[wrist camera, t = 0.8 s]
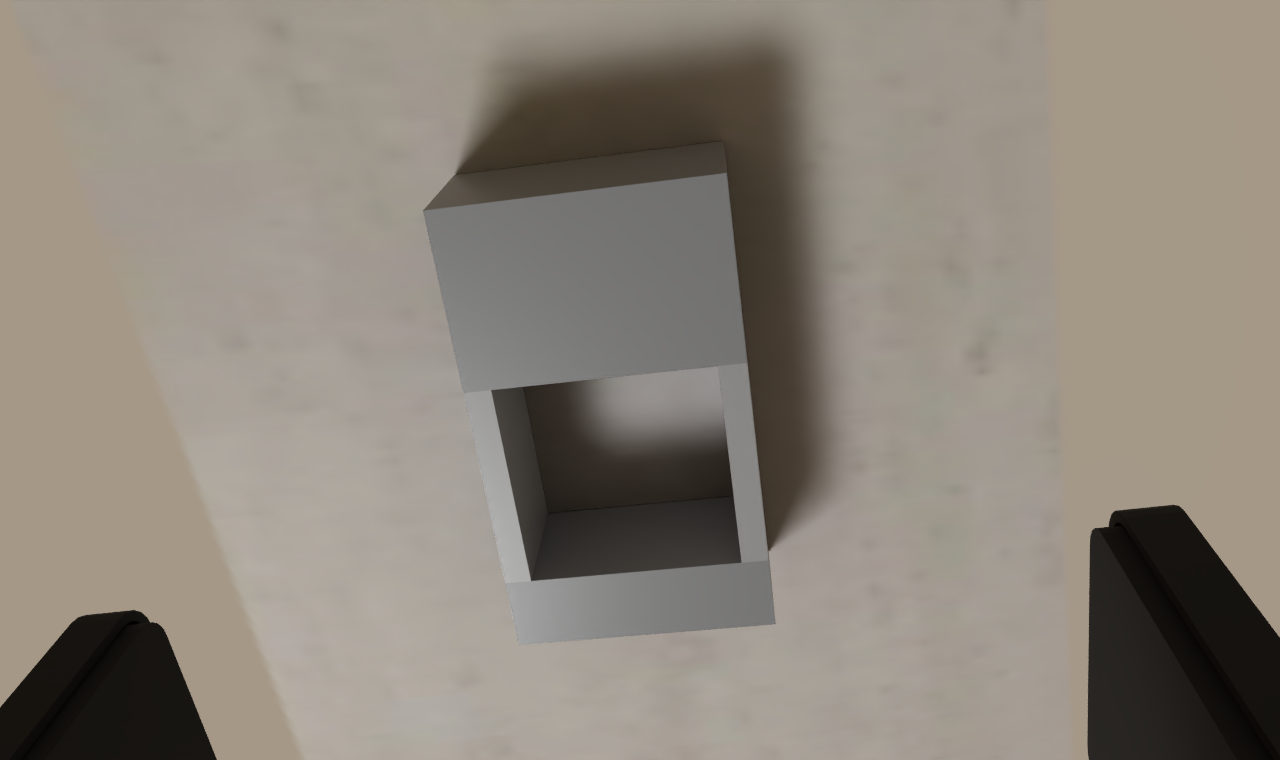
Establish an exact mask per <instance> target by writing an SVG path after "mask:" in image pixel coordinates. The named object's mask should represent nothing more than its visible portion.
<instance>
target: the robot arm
mask: <svg viewBox="0 0 1280 760" xmlns="http://www.w3.org/2000/svg"><path fill="white" fill-rule="evenodd" d="M1089 590H1090V591H1089V595H1090V597H1089V671H1088V756H1089V760H1280V637H1279V636H1278V635H1277V633H1276V632H1275V631H1274V629H1273V628H1272V627H1271V625H1270V624H1269V623H1268V621H1267V620H1266V619H1265V617H1264V616H1263V615H1262V613H1261V612H1260V611H1259V610H1258V608H1257V607H1256V606H1255V604H1254V603H1253V602H1252V600H1251V599H1250V598H1249V596H1248V595H1247V594H1246V592H1245V591H1244V590H1243V588H1242V587H1241V586H1240V584H1239V583H1238V582H1237V580H1236V579H1235V578H1234V576H1233V575H1232V574H1231V572H1230V571H1229V570H1228V568H1227V567H1226V566H1225V565H1224V563H1223V562H1222V560H1221V559H1220V558H1219V556H1218V555H1217V554H1216V553H1215V551H1214V550H1213V548H1212V547H1211V546H1210V544H1209V543H1208V542H1207V540H1206V539H1205V538H1204V537H1203V535H1202V534H1201V532H1200V531H1199V530H1198V528H1197V527H1196V526H1195V525H1194V523H1193V522H1192V520H1191V519H1190V518H1189V517H1188V515H1187V514H1186V513H1185V511H1184V510H1183V509H1182V508H1181V507H1179V506H1176V505H1168V506H1158V507H1149V508H1139V509H1129V510H1119V511H1115V512H1113V513H1112V515H1111V518H1110V521H1109V527H1104V528H1095V529H1094V530H1093V531H1092V533H1091V538H1090V588H1089ZM0 760H217V759H216V757H215V754H214V752H213V750H212V747H211V744H210V742H209V739H208V737H207V734H206V732H205V729H204V727H203V724H202V722H201V719H200V717H199V714H198V712H197V709H196V707H195V704H194V702H193V699H192V697H191V695H190V692H189V689H188V687H187V685H186V682H185V680H184V677H183V675H182V672H181V670H180V667H179V665H178V662H177V660H176V657H175V655H174V652H173V650H172V647H171V645H170V642H169V640H168V637H167V635H166V633H165V631H164V629H163V628H162V627H161V626H160V625H159V624H157V623H153V622H152V623H150V622H149V620H148V618H147V617H146V616H145V615H144V614H142V613H141V612H139V611H135V610H131V611H122V612H112V613H103V614H92V615H85V616H81V617H78V618H77V619H76V620H75V621H73V622H72V623H71V624H70V625H69V627H68V628H67V629H66V630H65V631H64V633H63V634H62V635H61V636H60V637H59V638H58V640H57V641H56V642H55V643H54V645H53V646H52V647H51V648H50V649H49V650H48V652H47V653H46V654H45V655H44V656H43V658H42V659H41V660H40V661H39V662H38V663H37V665H36V666H35V667H34V668H33V669H32V670H31V672H30V673H29V674H28V675H27V676H26V678H25V679H24V680H23V681H22V682H21V683H20V685H19V686H18V687H17V688H16V689H15V691H14V692H13V693H12V694H11V695H10V697H9V698H8V699H7V700H6V702H4V704H3V705H2V706H1V707H0Z"/></svg>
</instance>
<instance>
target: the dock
mask: <svg viewBox="0 0 1280 760" xmlns="http://www.w3.org/2000/svg"><path fill="white" fill-rule="evenodd" d="M423 212H424V217H425V221H426V226H427V231H428V235H429V240H430V244H431V249H432V253H433V258H434V262H435V267H436V271H437V276H438V280H439V285H440V289H441V294H442V299H443V303H444V308H445V312H446V317H447V321H448V326H449V330H450V335H451V339H452V344H453V348H454V353H455V357H456V362H457V367H458V371H459V376H460V380H461V385H462V389H463V394H464V398H465V403H466V407H467V412H468V416H469V421H470V425H471V430H472V434H473V439H474V444H475V448H476V453H477V457H478V462H479V466H480V471H481V475H482V480H483V484H484V489H485V493H486V498H487V502H488V507H489V512H490V516H491V521H492V525H493V530H494V534H495V539H496V543H497V548H498V552H499V557H500V561H501V566H502V570H503V575H504V579H505V584H506V589H507V593H508V598H509V602H510V607H511V611H512V616H513V620H514V625H515V629H516V634H517V638H518V643H519V645H525V644H538V643H550V642H562V641H574V640H587V639H599V638H611V637H624V636H636V635H648V634H660V633H673V632H685V631H697V630H710V629H722V628H734V627H746V626H759V625H771V624H775V614H774V604H773V593H772V583H771V573H770V562H769V552H768V543H767V534H766V524H765V515H764V506H763V497H762V487H761V478H760V469H759V460H758V450H757V441H756V432H755V422H754V413H753V404H752V395H751V385H750V376H749V367H748V358H747V348H746V339H745V330H744V321H743V311H742V302H741V293H740V284H739V274H738V265H737V256H736V247H735V237H734V228H733V219H732V209H731V200H730V191H729V182H728V172H727V163H726V154H725V145H724V141H719V142H711V143H703V144H695V145H687V146H679V147H671V148H664V149H656V150H648V151H640V152H632V153H624V154H616V155H609V156H601V157H593V158H585V159H577V160H569V161H561V162H553V163H546V164H538V165H530V166H522V167H514V168H506V169H498V170H491V171H483V172H475V173H467V174H459V175H454V176H453V177H452V178H451V180H450V181H449V182H448V183H447V184H446V185H445V186H444V188H443V189H442V190H441V191H440V192H439V193H438V194H437V195H436V197H435V198H434V199H433V200H432V201H431V202H430V203H429V205H428V206H427V207H426V208H425V209H424V210H423ZM714 366H718V369H719V378H720V386H721V394H722V403H723V411H724V420H725V428H726V436H727V445H728V453H729V461H730V470H731V478H732V486H733V495H734V496H730V497H720V498H709V499H698V500H688V501H677V502H666V503H656V504H645V505H634V506H624V507H613V508H602V509H592V510H581V511H570V512H560V513H549V514H548V511H547V505H546V500H545V495H544V490H543V485H542V480H541V475H540V470H539V465H538V460H537V455H536V450H535V445H534V439H533V434H532V429H531V424H530V419H529V414H528V409H527V404H526V399H525V394H524V389H523V387H525V386H535V385H544V384H554V383H563V382H573V381H582V380H591V379H601V378H610V377H620V376H629V375H639V374H648V373H657V372H667V371H676V370H686V369H695V368H704V367H714Z"/></svg>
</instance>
